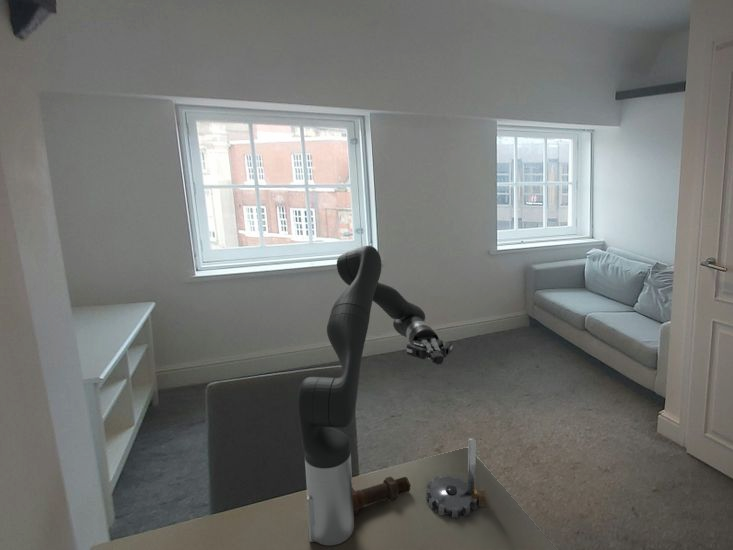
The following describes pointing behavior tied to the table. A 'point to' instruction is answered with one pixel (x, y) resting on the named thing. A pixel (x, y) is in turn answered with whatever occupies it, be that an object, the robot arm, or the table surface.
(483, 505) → the brown block
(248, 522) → the table surface
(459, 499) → the sprocket
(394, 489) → the bolt
